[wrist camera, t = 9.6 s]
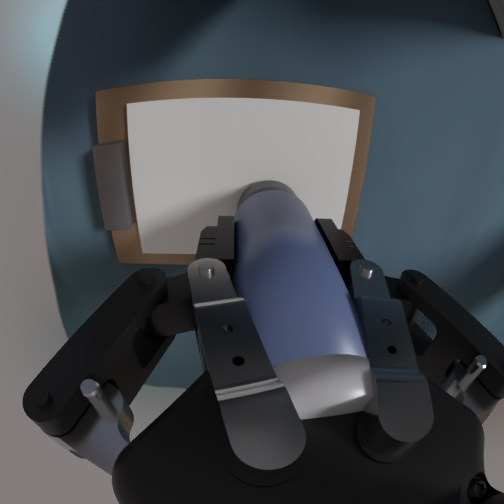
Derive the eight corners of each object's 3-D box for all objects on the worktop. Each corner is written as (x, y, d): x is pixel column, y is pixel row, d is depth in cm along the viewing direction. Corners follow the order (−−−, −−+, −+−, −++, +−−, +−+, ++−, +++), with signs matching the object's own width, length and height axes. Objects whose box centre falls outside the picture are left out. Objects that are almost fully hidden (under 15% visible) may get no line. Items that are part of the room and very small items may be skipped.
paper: (357, 109, 13) (360, 110, 13) (333, 253, 18) (335, 255, 18) (128, 103, 12) (126, 103, 12) (143, 250, 17) (142, 253, 17)
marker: (306, 178, 15) (423, 380, 5) (298, 240, 17) (361, 446, 7) (233, 175, 14) (229, 403, 4) (232, 239, 16) (232, 460, 6)
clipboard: (369, 95, 13) (384, 97, 12) (341, 259, 19) (349, 275, 18) (101, 90, 12) (86, 92, 11) (122, 256, 18) (113, 272, 17)
